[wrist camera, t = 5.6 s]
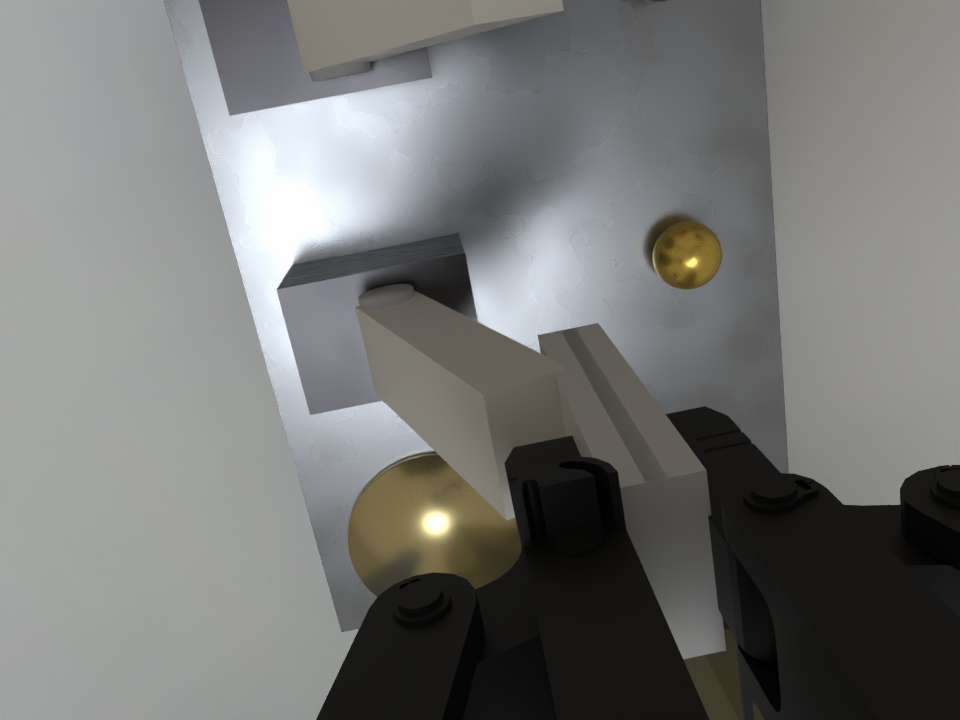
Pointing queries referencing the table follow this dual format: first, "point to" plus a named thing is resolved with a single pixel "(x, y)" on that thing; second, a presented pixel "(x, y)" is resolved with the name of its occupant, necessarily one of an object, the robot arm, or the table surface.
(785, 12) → the table surface
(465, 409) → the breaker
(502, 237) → the panel
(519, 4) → the breaker
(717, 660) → the control panel
